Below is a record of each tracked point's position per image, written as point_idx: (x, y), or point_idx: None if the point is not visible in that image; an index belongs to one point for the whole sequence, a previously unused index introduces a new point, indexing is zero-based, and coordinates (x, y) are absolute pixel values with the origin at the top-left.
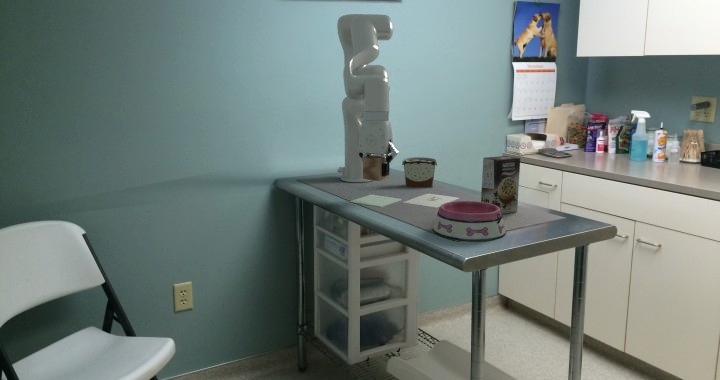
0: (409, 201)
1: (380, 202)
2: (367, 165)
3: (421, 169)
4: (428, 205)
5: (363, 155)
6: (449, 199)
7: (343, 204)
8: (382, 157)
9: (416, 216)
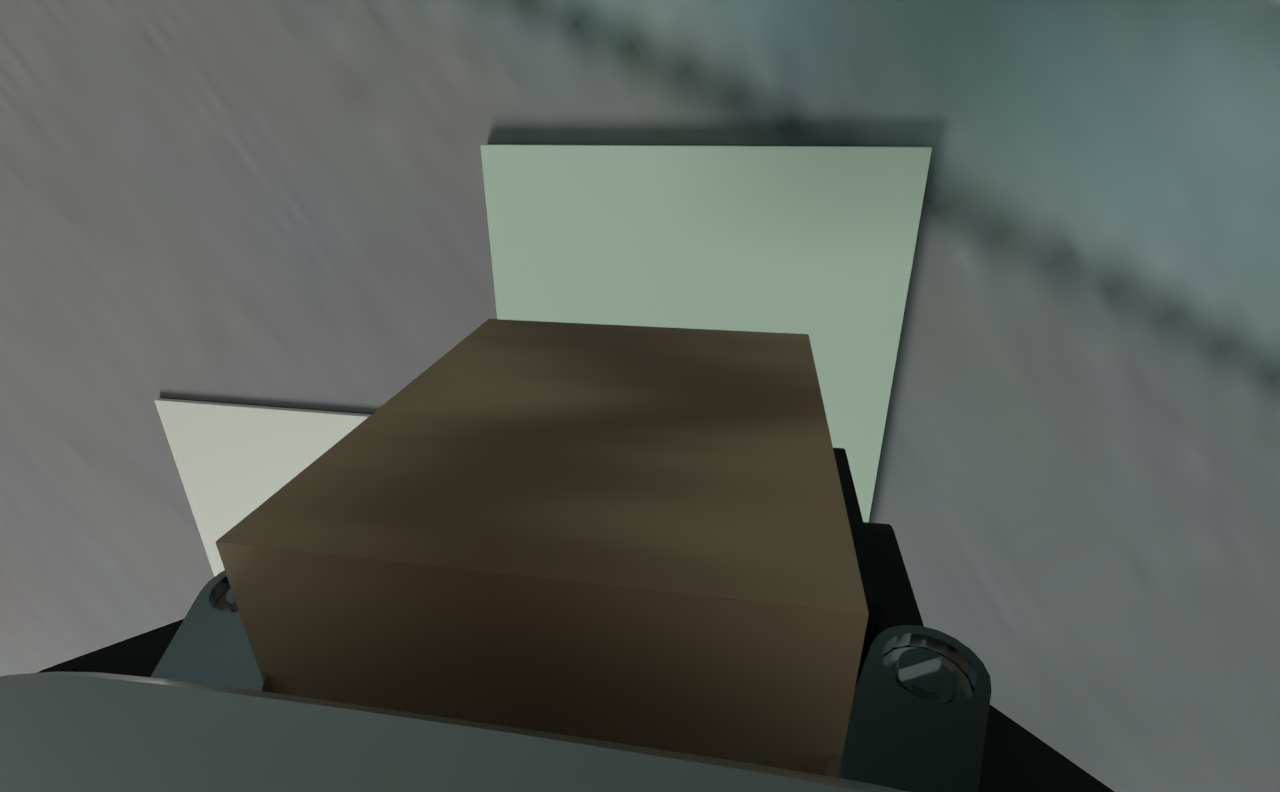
0: None
1: (593, 293)
2: (687, 446)
3: None
4: (236, 426)
5: (961, 789)
6: None
7: (955, 4)
8: (237, 676)
9: (38, 35)
